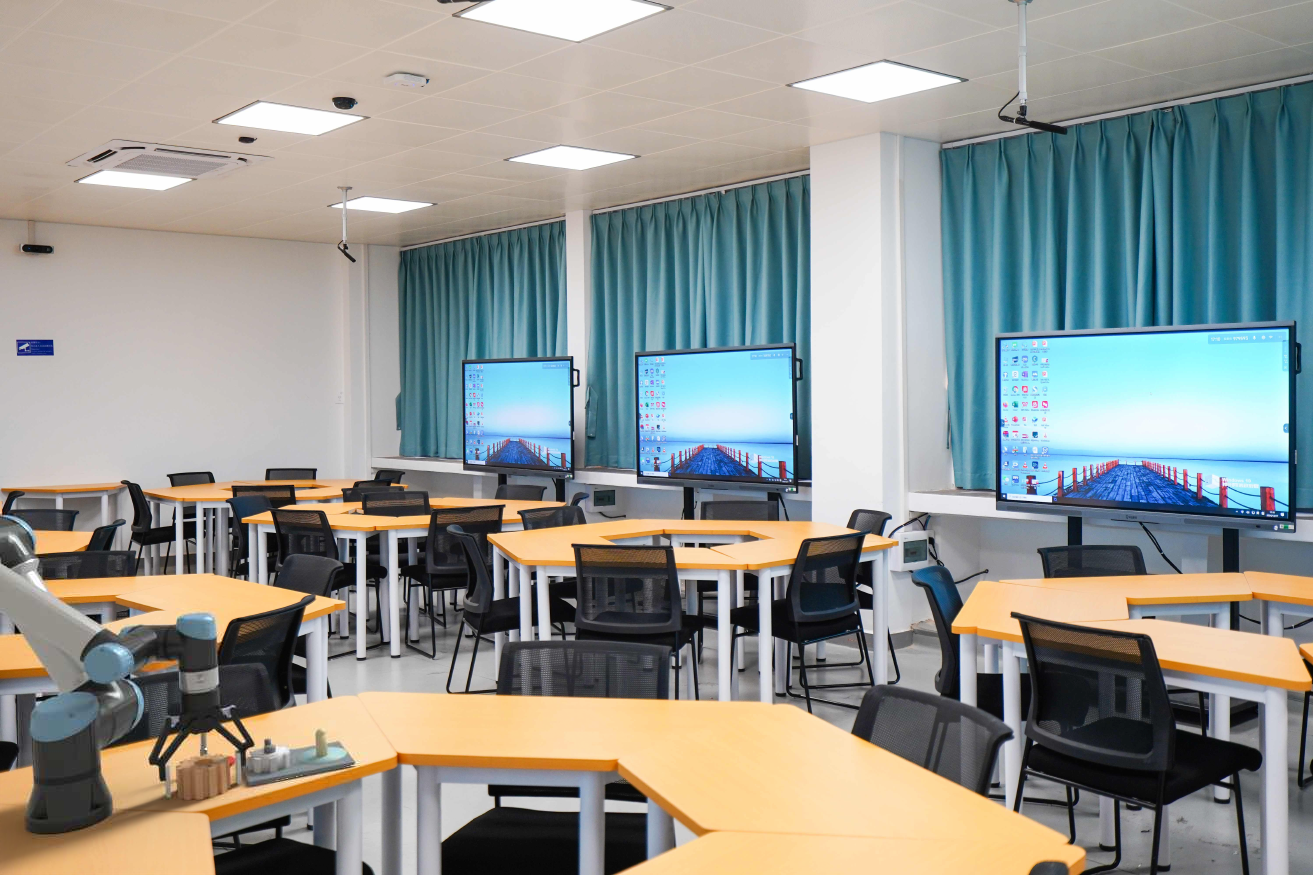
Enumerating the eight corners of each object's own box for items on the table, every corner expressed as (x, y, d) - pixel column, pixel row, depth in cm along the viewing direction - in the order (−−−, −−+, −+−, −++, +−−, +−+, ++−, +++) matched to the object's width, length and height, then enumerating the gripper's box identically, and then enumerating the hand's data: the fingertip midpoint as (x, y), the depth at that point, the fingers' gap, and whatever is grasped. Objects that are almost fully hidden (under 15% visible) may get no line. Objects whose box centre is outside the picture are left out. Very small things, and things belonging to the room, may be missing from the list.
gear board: (249, 786, 220) (247, 752, 219) (238, 763, 234) (237, 731, 233) (355, 765, 230) (353, 733, 230) (339, 745, 244) (337, 714, 244)
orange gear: (179, 803, 211) (178, 774, 211) (175, 787, 220) (174, 759, 220) (233, 793, 216) (232, 764, 216) (227, 777, 225) (226, 750, 225)
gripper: (133, 702, 208) (138, 807, 209) (265, 682, 220) (269, 781, 221) (131, 693, 214) (136, 795, 215) (260, 674, 227) (264, 770, 228)
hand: (204, 788), depth 218 cm, fingers open, 13 cm apart
